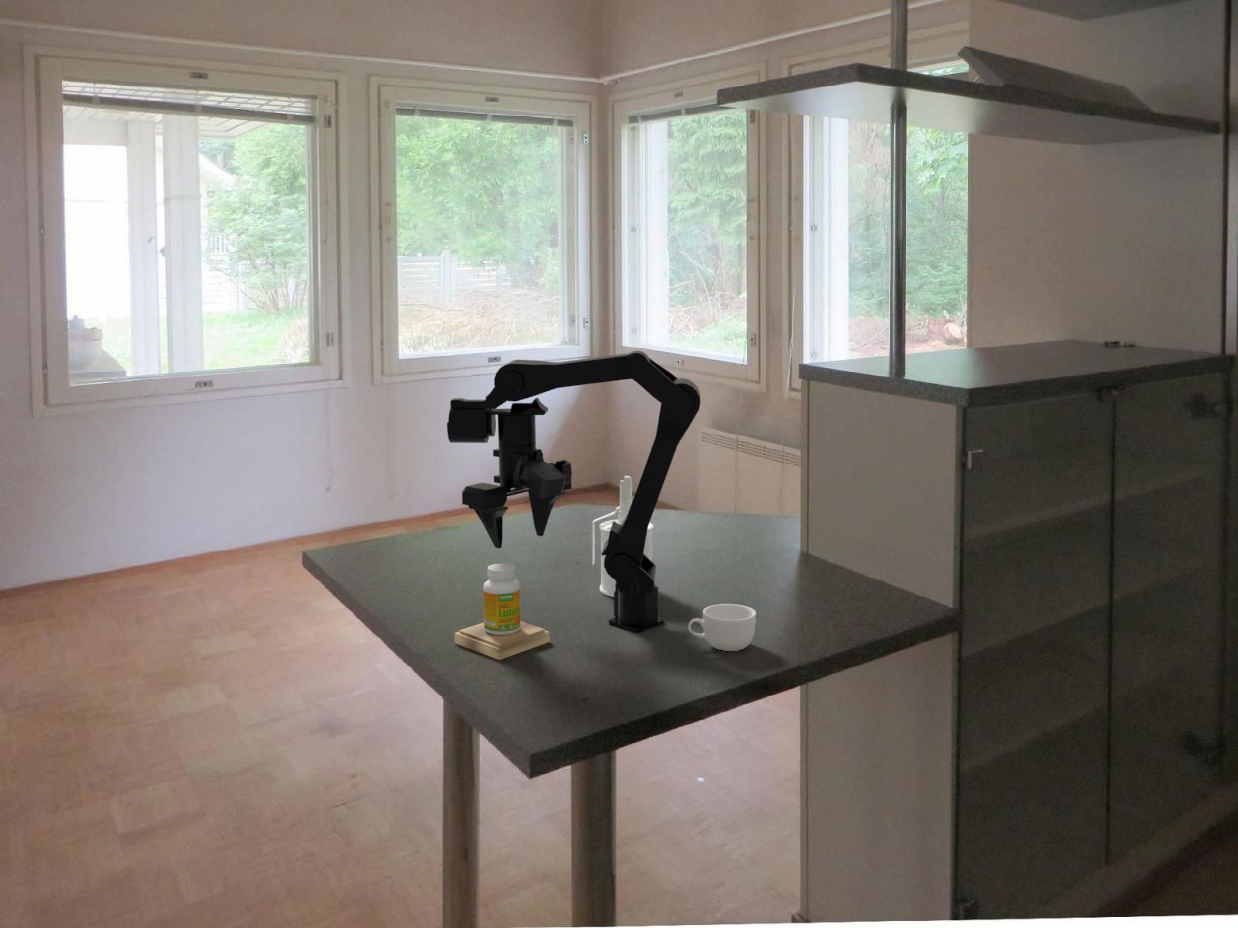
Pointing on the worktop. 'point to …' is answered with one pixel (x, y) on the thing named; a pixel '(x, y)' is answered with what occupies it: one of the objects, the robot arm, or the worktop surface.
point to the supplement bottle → (501, 600)
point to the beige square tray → (502, 640)
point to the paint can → (625, 503)
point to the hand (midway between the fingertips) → (519, 541)
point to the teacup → (727, 626)
